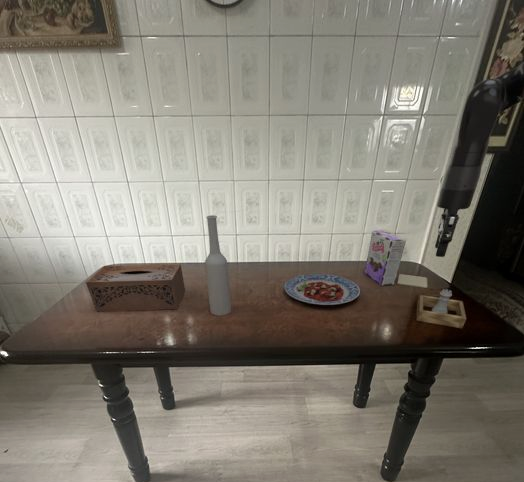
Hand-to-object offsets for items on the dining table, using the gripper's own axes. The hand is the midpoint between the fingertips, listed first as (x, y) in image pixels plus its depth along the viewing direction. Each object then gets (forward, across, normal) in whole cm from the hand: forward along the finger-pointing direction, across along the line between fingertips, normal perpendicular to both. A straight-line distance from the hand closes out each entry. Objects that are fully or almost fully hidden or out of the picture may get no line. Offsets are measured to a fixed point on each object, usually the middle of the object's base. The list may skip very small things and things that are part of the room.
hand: (439, 252), depth 84 cm
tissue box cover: (+16, -29, +86) cm, 93 cm away
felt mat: (+18, +24, +4) cm, 30 cm away
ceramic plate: (+18, 0, +32) cm, 37 cm away
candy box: (+18, +22, +16) cm, 32 cm away
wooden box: (+18, -2, -4) cm, 19 cm away
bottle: (+17, -25, +58) cm, 66 cm away
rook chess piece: (+18, -2, -4) cm, 19 cm away
